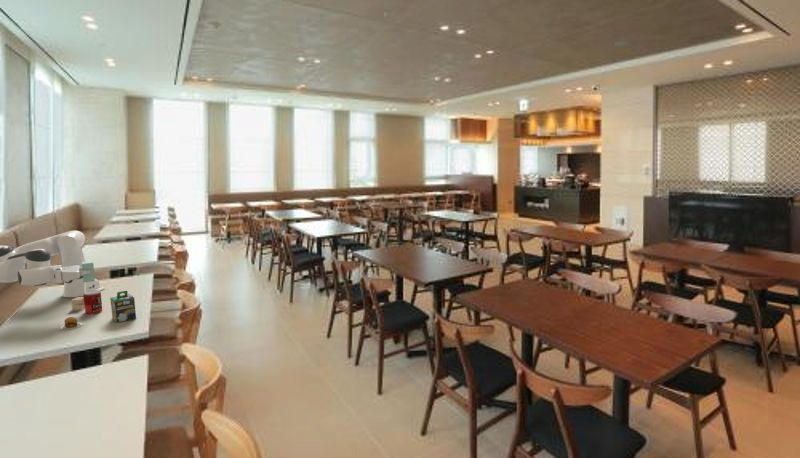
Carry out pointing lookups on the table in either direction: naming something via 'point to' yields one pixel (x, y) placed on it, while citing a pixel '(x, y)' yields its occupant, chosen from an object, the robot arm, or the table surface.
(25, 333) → the table surface
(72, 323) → the hamburger
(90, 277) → the teal block
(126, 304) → the chalk box
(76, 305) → the oak block
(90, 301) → the canned food
